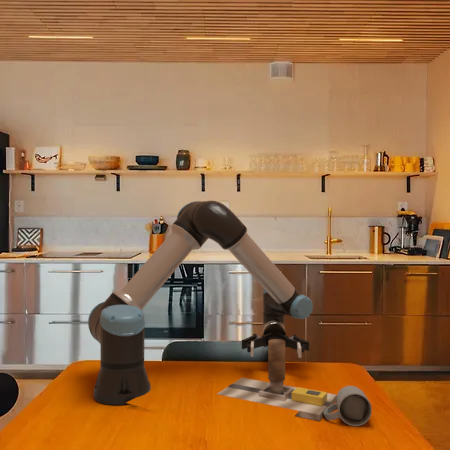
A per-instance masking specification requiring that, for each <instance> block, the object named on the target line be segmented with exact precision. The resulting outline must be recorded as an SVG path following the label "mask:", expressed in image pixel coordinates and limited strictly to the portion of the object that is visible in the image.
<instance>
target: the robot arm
mask: <svg viewBox="0 0 450 450" xmlns="http://www.w3.org/2000/svg"><path fill="white" fill-rule="evenodd" d="M170 229H171V233H170V234H169V235H168V236H167V237H166V238H165V240H164V241H163V242H162V243H161V244H160V245H159V246H158V247H157V249H156V250H155V251H154V252H153V253H152V255H151V256H150V257H149V258H148V259H147V260H146V261H145V263H143V264H142V266H141V267H140V268H139V269H138V271H136V273H134V275H133V276H132V277H131V279H130V280H129V281H128V282H127V283H126V284H125V285H124V286H123V288H122V289H121V290H117V291H113V292H112V293H111V294H109V296H108V297H107V298H106V300H104V301H102V302H100V303H98V304H97V305H95V306H94V307H93V308H92V309H91V311H90V313H89V316H88V318H87V319H88V320H87V325H88V330H89V332H90V335H91V336H92V337H93V339H95V340H96V341H97V342H98V343H99V345H100V358H99V359H100V364H99V365H100V366H99V371H98V374H97V378H96V382H95V384H94V387H93V399H94V400H95V401H96V402H97V403H100V404H103V405H111V406H113V405H114V406H118V405H121V406H122V405H129V403H128V402H130V401H132V400H134V399H136V398H140V397H142V396H145V395H146V394H148V393H149V392H150V391H151V389H152V388H151V383H150V380H149V377H148V374H147V369H146V367H145V327H146V320H145V312H144V311H143V310H144V308H145V307H146V306H147V305H148V303H149V302H150V301H151V300H152V298H154V296H155V295H156V294H157V293H158V291H159V290H160V289H161V288H162V287H163V285H164V284H165V283H166V282H167V281H168V279H169V278H170V277H171V276H172V275H173V273H174V272H175V271H176V270H177V269H178V267H179V266H180V265H181V264H182V263H183V261H185V259H186V258H187V257H188V256H189V255H190V253H191V252H193V250H194V251H196V250H200V249H201V248H202V246H203V245H204V244H205V243H206V242H207V240H208V239H210V240H212V241H214V242H215V243H216V244H218V246H219V247H221V248H222V249H223V250H225V251H226V250H228V251H229V252H230V253H231V254H232V255H233V256H234V257H235V259H236V260H237V261H238V262H239V263H240V264H241V265H242V266H243V268H244V269H245V270H246V271H247V272H249V274H250V275H251V276H252V277H253V278H254V279H255V281H257V283H258V284H259V285H260V286H261V287H262V288H263V292H262V304H263V306H262V307H263V312H262V335H261V336H259V335H258V334H257V333H253V334H252V335H251V336H249V337H246V338H244V339H241V349H242V350H245V349H246V350H247V351H246V352H247V353H250V357H251V358H252V357H254V352H255V350H254V349H258V348H262V347H264V348H268V345H269V340H271V339H281V340H284V341H285V348H290V349H293V350H296V351H297V352H296V353H297V357H298V359H302V353H305V351H306V352H308V351H310V341H307V340H305V339H304V338H301V337H299V336H297V335H296V334H293V335H291V337H289V336H288V335H287V333H286V327H285V324H286V323H285V321H286V320H285V319H286V318H285V317H286V316H289V317H291V318H294V319H299V320H304V319H307V318H308V317H310V316H311V314H312V312H313V310H314V308H313V307H314V304H313V301H312V300H311V298H310V297H309V296H306V295H305V294H301V293H300V292H299V291H298V290H297V288H296V287H294V285H293V284H292V283H291V282H290V281H289V280H288V278H287V277H286V276H285V275H284V274H283V273H282V271H281V270H280V269H279V268H278V266H276V265H275V264H274V263H273V262H272V260H271V259H270V258H269V257H268V255H267V254H266V253H265V252H264V251H263V250H262V248H261V247H260V246H259V245H258V244H257V242H255V241H254V239H253V238H252V237H251V236H250V235H249V233H248V228H247V226H245V224H244V223H243V221H241V219H239V217H238V216H237V215H236V214H235V213H234V212H233V211H232V210H231V209H230V208H229V207H228V206H226V205H225V204H223V203H222V202H220V201H217V200H204V201H201V200H200V201H199V200H197V201H192V202H189V203H187V204H185V205H183V206H182V207H181V208H180V209H179V211H178V213H177V216H176V220H175V221H174V222H173V223H172V224H171V227H170Z"/></svg>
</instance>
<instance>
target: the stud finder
mask: <svg viewBox="0 0 450 450" xmlns="http://www.w3.org/2000/svg"><path fill="white" fill-rule="evenodd" d="M327 393H328V392H326V391H321V390H315V389H310V388H305V387H299V386H297V388H296V389H295V390H294V391H293V392H292V400H293V401H299V402H304V403H309V404H314V405H319V406H323V405H324V403H325V402H326V401H327Z"/></svg>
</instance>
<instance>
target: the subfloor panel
mask: <svg viewBox="0 0 450 450" xmlns="http://www.w3.org/2000/svg"><path fill="white" fill-rule="evenodd" d="M297 387H298V386H297ZM297 387H295V386H291V385H286V384H283V395H280V394H274V393H270V381H269V382H268V381H263V380H257V379H252V378H251V379H250V378H246V377H240V379H238V380H236V381H235V382H233V383H231V384H229V385H228V386H226V387H225V388H224V389H222V390H221V391H219V392H217V393H216V395H219V396H223V397H229V398H234V399H239V400H243V401H250V402H253V403H259V404H263V405H267V406H268V405H269V406H274V407H278V408H283V409H289V410H293V411H298V412H297V413H296V414H295V415H294V417H297V418H303V419H307V420H312V421H316V422H320V421H321V420H322V419H323V417H325V416H324V414H323V412H324V410H325V409H326V408H327V407H329V406H331V405H333V404H335V403H336V398H337V394H335V393H334V394H333V393H330V392H327V401H326V402H325V403H324V405H323V406H319V405H314V404H309V403H304V402H299V401H293V400H292V392H293V391H294V390H295V389H296V388H297Z"/></svg>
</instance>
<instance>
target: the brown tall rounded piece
mask: <svg viewBox="0 0 450 450" xmlns="http://www.w3.org/2000/svg"><path fill="white" fill-rule="evenodd" d="M267 348H268V351H267V352H268V355H267V356H268V357H267V358H268V362H267V363H268V365H267V367H268V368H267V369H268V370H267V371H268V375H267V379H268V380H269V383H270V393H274V394H280V395H283V385H284V381H285V380H286V347H285V341H284V340H281V339H271V340H269V345H268V346H267Z"/></svg>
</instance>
